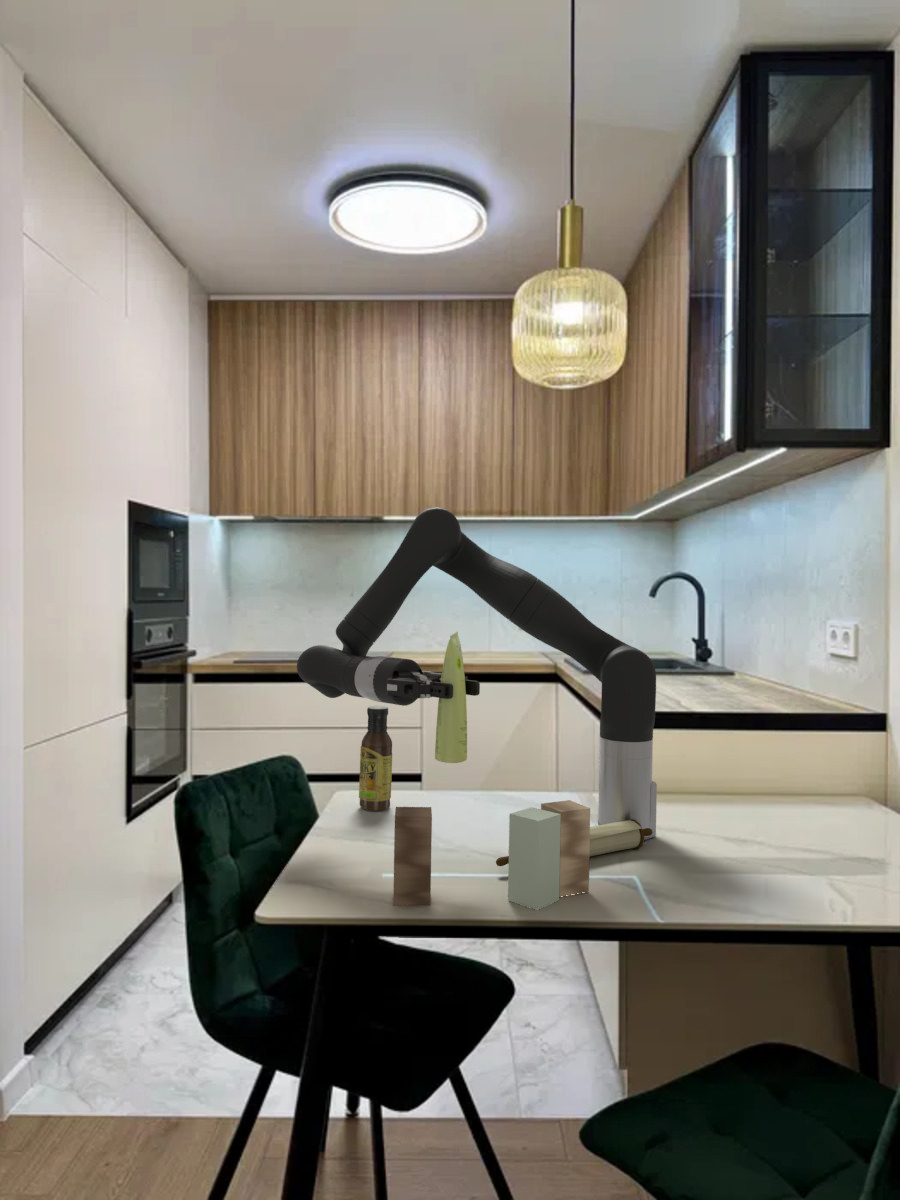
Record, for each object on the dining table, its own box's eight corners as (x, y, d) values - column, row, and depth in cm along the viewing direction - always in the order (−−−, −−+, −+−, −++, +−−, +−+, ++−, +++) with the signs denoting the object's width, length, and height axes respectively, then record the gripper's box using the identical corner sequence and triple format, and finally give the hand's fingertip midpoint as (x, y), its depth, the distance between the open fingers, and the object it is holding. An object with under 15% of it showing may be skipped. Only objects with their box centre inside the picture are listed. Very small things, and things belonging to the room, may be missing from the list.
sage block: (530, 891, 116) (531, 807, 116) (559, 900, 113) (560, 814, 113) (507, 900, 113) (509, 813, 113) (537, 910, 109) (538, 820, 109)
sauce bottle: (352, 806, 161) (354, 705, 161) (379, 802, 165) (381, 703, 165) (370, 814, 156) (371, 709, 156) (397, 809, 160) (399, 707, 159)
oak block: (568, 881, 121) (569, 800, 121) (588, 892, 116) (590, 808, 116) (539, 886, 119) (541, 803, 119) (559, 897, 114) (561, 811, 114)
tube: (476, 762, 124) (478, 633, 123) (448, 766, 121) (450, 634, 121) (455, 755, 129) (457, 631, 128) (427, 758, 126) (430, 631, 125)
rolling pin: (639, 841, 142) (639, 812, 142) (663, 850, 137) (663, 820, 137) (486, 872, 125) (486, 839, 125) (507, 883, 120) (508, 849, 120)
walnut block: (429, 892, 116) (431, 807, 115) (430, 905, 111) (431, 816, 110) (394, 891, 115) (395, 806, 115) (393, 905, 110) (394, 816, 110)
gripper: (355, 659, 129) (432, 667, 118) (419, 655, 140) (496, 662, 128) (354, 706, 129) (431, 719, 118) (418, 699, 140) (495, 710, 128)
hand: (464, 690), depth 123 cm, fingers closed on tube, 5 cm apart
